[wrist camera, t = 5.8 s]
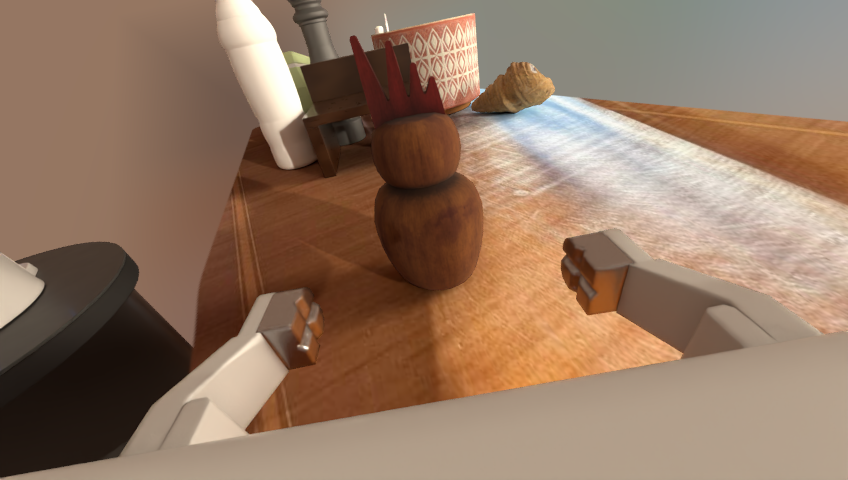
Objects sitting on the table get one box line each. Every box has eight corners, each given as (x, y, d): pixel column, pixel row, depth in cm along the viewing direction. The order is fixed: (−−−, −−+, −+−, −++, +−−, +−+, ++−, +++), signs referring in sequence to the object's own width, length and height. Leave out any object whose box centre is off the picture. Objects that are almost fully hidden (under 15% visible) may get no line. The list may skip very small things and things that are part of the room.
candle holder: (372, 133, 57) (324, -46, 43) (351, 145, 53) (290, -48, 39) (347, 133, 60) (295, -34, 46) (326, 145, 56) (260, -34, 42)
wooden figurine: (382, 296, 21) (293, 48, 13) (410, 246, 26) (358, 34, 17) (478, 309, 19) (447, 14, 10) (492, 251, 23) (478, 8, 15)
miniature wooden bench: (324, 178, 42) (284, 74, 35) (331, 151, 52) (301, 65, 45) (436, 152, 43) (419, 44, 36) (422, 130, 53) (407, 42, 46)
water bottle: (329, 152, 52) (259, -44, 38) (306, 169, 47) (214, -51, 32) (295, 155, 54) (217, -29, 40) (270, 172, 49) (168, -34, 35)
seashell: (482, 136, 58) (468, 128, 51) (471, 95, 58) (455, 81, 51) (559, 103, 51) (554, 88, 44) (546, 57, 52) (539, 35, 45)
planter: (436, 126, 54) (421, 24, 45) (372, 120, 66) (351, 39, 58) (499, 96, 63) (496, 8, 55) (433, 96, 76) (422, 24, 67)
